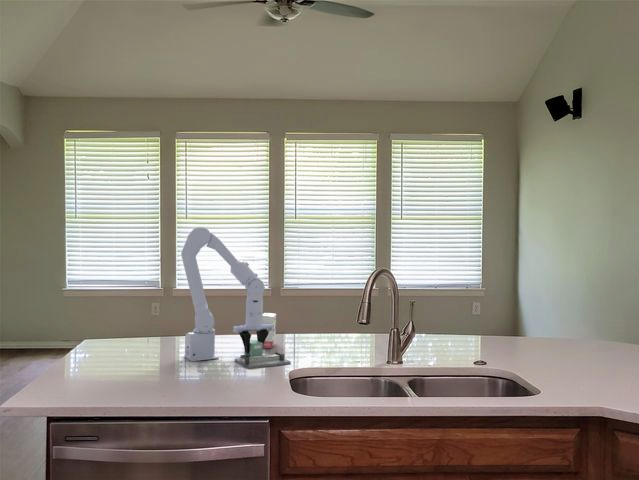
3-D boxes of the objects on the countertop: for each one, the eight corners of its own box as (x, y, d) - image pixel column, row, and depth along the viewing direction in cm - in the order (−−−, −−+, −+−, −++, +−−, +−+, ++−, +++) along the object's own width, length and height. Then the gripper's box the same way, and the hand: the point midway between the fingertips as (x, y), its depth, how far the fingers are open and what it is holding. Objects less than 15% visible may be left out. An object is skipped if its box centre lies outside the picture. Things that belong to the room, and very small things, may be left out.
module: (251, 358, 183) (252, 343, 183) (244, 354, 189) (244, 340, 189) (262, 357, 185) (262, 342, 185) (254, 353, 191) (255, 339, 191)
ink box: (272, 348, 200) (273, 316, 200) (259, 348, 200) (259, 315, 200) (275, 343, 209) (276, 312, 208) (262, 343, 209) (263, 312, 209)
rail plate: (248, 368, 170) (248, 360, 170) (234, 361, 179) (234, 353, 179) (290, 363, 178) (290, 355, 178) (275, 356, 187) (275, 349, 187)
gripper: (239, 315, 180) (238, 356, 180) (278, 313, 187) (277, 352, 187) (231, 312, 186) (230, 352, 186) (269, 310, 193) (268, 348, 193)
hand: (253, 352), depth 187 cm, fingers closed on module, 4 cm apart
